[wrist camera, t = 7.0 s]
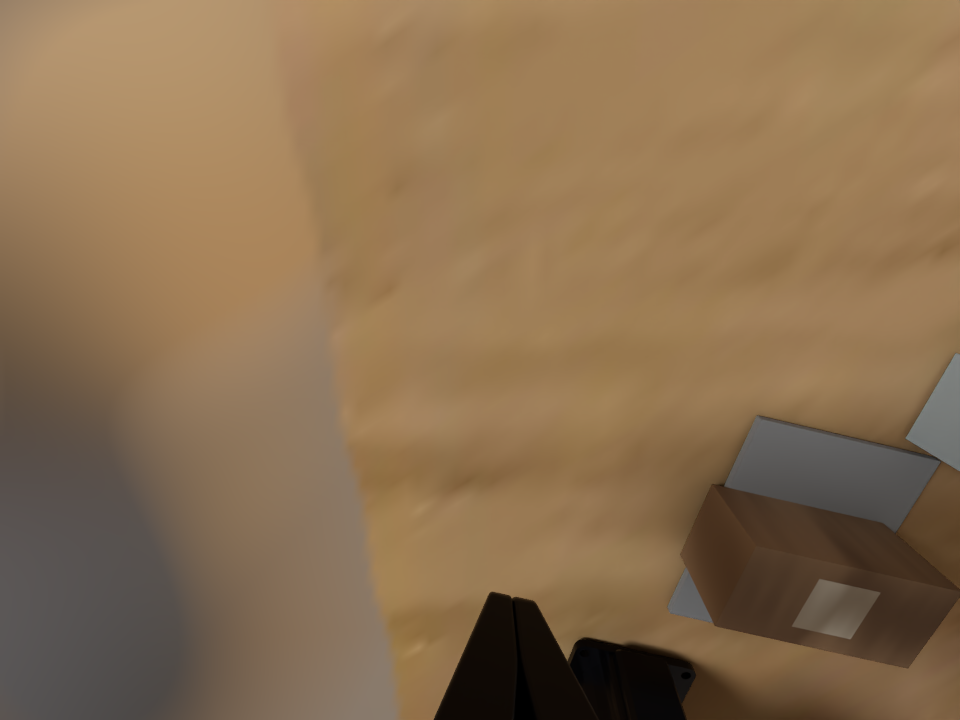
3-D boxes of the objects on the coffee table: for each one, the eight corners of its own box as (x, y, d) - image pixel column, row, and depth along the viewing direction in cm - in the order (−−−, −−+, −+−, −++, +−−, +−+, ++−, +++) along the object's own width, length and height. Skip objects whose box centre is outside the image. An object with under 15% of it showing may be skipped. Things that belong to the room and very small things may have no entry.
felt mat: (818, 640, 24) (823, 647, 24) (667, 606, 24) (669, 613, 24) (933, 456, 21) (940, 461, 20) (757, 415, 21) (761, 419, 20)
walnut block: (680, 554, 23) (841, 590, 23) (715, 626, 19) (908, 668, 19) (712, 483, 21) (882, 522, 22) (756, 546, 18) (963, 592, 18)
